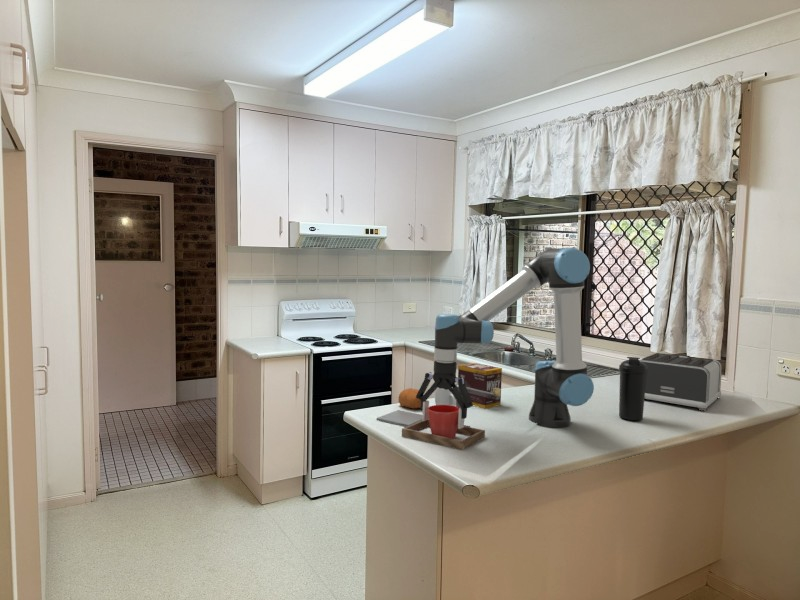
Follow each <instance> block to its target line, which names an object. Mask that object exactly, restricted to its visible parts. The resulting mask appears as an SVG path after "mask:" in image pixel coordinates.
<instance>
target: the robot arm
mask: <svg viewBox="0 0 800 600" xmlns="http://www.w3.org/2000/svg"><path fill="white" fill-rule="evenodd" d="M590 271H591V263H590V260H589V258H588V256H587V255H586V253H584V252H583V250H580V249H578V248H574V247H563V248H562V247H561V248H560V247H559V248H556V247H554V248H549V249H546V250H544V251H542V252H541V253H539V254H538V255H536V256H535V257H534V258H532V259H530V261H528V262H527V263H525V264H524V265H523V266H522V267H521V271H519V272H518V273H517V274H516V275H514V276H513V277H511V278H510V279H508V280H507V281H506V282H505V283H503V284H502V285H501V286H499V287H498V288H496V289H495V290H494V291H493V292H491V293H490V294H488V295H487V296H486V297H484V298H483V299H482V300H480V301H479V302H477V303H476V304H475V305H474V306H472V307H471V308H469V309H468V310H467V311H465V312H464V313H463V314H461V315H458V314H453V313H440V314H438V315H436V317H435V323H434V324H435V326H434V353H433V360H434V362H433V373H432V372H431V371H430V372H426V373H425V374H424V380H423V381H422V383H421V385H420V388H419V389H418V390H419V391H418V393H417V395H416V398H417V399H420V400H421V407H420V410H421V411H422V415H423V416H422V421H426V420H428V407H430V401H429V400H428V399H429V397H430V396H432V394H433V393H435V390H436V389H437V388H440V389H442V388H443V389H445V390H448V389H449V391H450V392H451V393H452V394H453V396H454V397H455V399H456V400H457V402H458V404H459V405H460V407H461V408H460V409H459V418H458V429H461V428H463V427H464V425H465V419H466V418H467V415H468V414H467V413H468V409H469V408H472V407H473V406H474V405H473V404H472V401H471V398H470V396H469V393H468V391H467V388H466V385H465V378H464V377H462V378H458V377H457V376H456V375H457V368H458V367H457V364H458V363H457V362H456V361H457V360H458V359H457V357H458V344H481V345H482V344H490V343H491V342H492V341H493V339H494V334H495V333H494V332H495V331H494V325H493V323H492V322H491V320H492V319H495V317H497V316H498V315H500V314H501V313H502V312H504V311H505V310H506V309H507V308H509V307H510V306H512V304H514V303H516V302H517V301H518V300H520V298H523V297H524V296H525V295H526V294H528V293H529V292H530V291H532V290H533V289H534V288H535V289H536V288H537V289H538V288H540V287H542V286H543V285H545V284H546V283H548V289H549V290H550V291H552V292H553V301H554V302H553V303H554V304H553V307H554V329H555V331H554V333H555V354H556V355H555V357H556V358H555V360H539V361H537V362H536V364H535V369H534V373H535V374H534V398H533V399H534V400H533V403H532V406H531V408H530V410H529V413H528V420H529V421H530V422H532V423H534V424H536V426H541V427H546V428H566V427H569V426H570V425H571V414H570V411H569V407H568V406H572V407H579V406H583V405H585V404H586V403H587V402H588V401H589V400H591V398H592V396H593V393H594V389H595V387H594V386H595V385H594V381H593V379H591V377H590V376H589V375H588V365H587V364H586V363H585V362H584V361H583V352H582V351H583V350H582V349H583V348H582V324H581V323H582V322H581V321H582V320H581V318H582V317H581V316H582V315H581V291H582V290H583V289H584V288H585V280H586V279H587V277H588V276H589V275H590ZM431 380H433V383H432V385H430V382H431ZM455 384H458V385H459V389H460V391H461V394H462V396H461V394H460V392H459V391H458V389H457V386H456V385H455ZM429 385H430V388H429V389H427V388H428V387H429ZM452 387H453V388H452Z"/></svg>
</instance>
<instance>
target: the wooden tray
mask: <svg viewBox="0 0 800 600" xmlns="http://www.w3.org/2000/svg"><path fill="white" fill-rule="evenodd" d="M466 426H467V425H466ZM466 426H464V427H463V428H461V429H458V426H457V431H456V434H461V435H467V436H468V437H467V438H465V439H463V440H460V439H457V438H454V439H452V438H447V437H443V436H438V435H434V434H431V433H429V432H423V431H420V430H422V429H424V428H426V427H429V428H430V423H429V419H428V420H426V421H422V420H421V421H418V422H416V423H414V424H411V425H409V426H407V427H406V426H403V427H401V437H405V438H409V439H413V440H419V441H421V442H427V443H432V444H435V445H439V446H444V447H448V448H451V449H452V448H453V449H457V450H462V451H464V450H466V449H468V448H469V447H471V446H473V445H474V444H476V443H478V442H479V441H481V440H483V439H485V437H486V429H481V428H476V427H471V426H470V427H466Z"/></svg>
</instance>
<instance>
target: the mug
mask: <svg viewBox="0 0 800 600" xmlns="http://www.w3.org/2000/svg"><path fill="white" fill-rule="evenodd" d="M452 388H453V387H452ZM434 401H435V403H434V404H435V405H452V406H456V399H455V397H454V396H453V394H452V393H451V392H450V391H449V389H448V390H445V389H443V388H442V389H440V388H437V389H436V390H435V391H434Z"/></svg>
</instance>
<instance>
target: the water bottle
mask: <svg viewBox="0 0 800 600" xmlns="http://www.w3.org/2000/svg"><path fill="white" fill-rule="evenodd" d="M626 358H627V359H626V360H624V361H622V362H620V364H619V367H618V371H619V404H618V407H619V408H618V410H619V411H618V416H619V417H620V418H621V419H625V420H629V421H641V420H643V418H644V409H645V399H644V398H645V386H646V374H647V372H648V368H647V366H646V365H645V364H644V363H643V362H641V361H640V360H641V358H640V357H636V356H635V357H634V356H627V357H626Z"/></svg>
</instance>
